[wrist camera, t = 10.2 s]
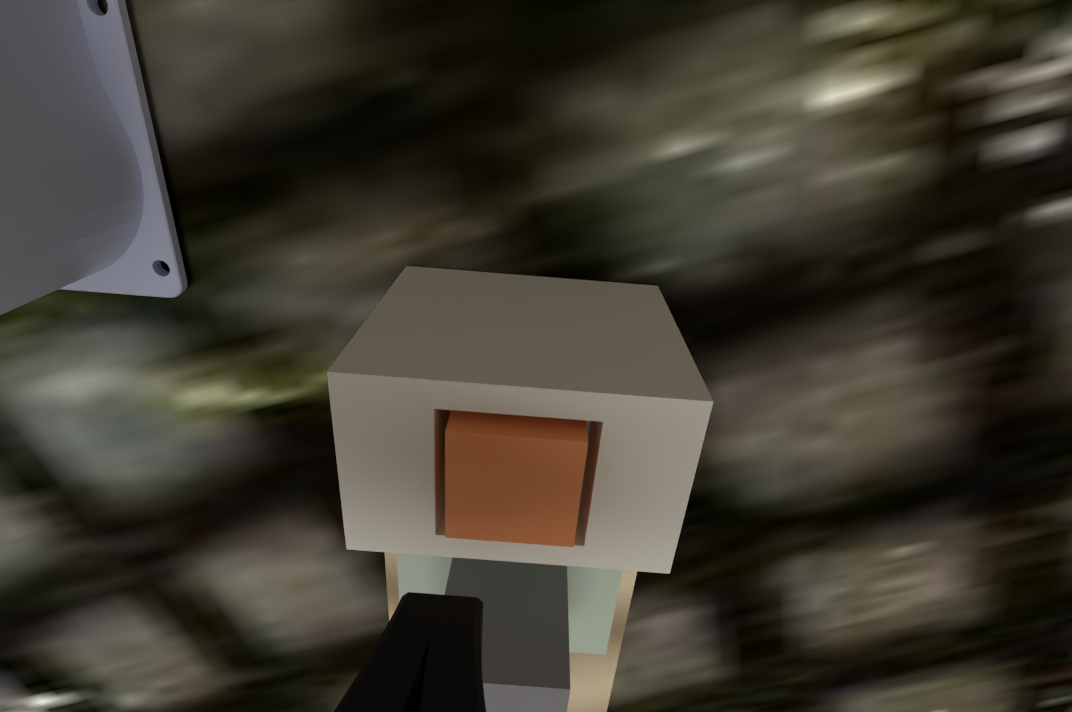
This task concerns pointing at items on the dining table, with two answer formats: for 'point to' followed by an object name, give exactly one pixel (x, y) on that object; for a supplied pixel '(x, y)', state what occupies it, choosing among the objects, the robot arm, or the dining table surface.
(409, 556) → the carriage
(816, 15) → the dining table surface
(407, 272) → the end cabinet
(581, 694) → the rail bed
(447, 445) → the button
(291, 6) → the dining table surface
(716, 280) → the dining table surface
